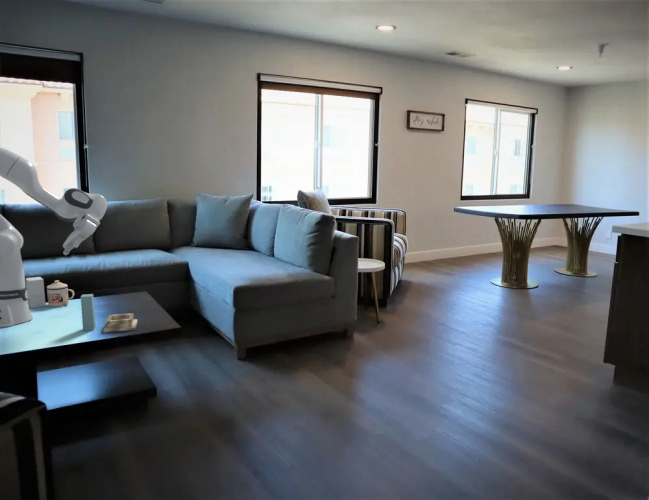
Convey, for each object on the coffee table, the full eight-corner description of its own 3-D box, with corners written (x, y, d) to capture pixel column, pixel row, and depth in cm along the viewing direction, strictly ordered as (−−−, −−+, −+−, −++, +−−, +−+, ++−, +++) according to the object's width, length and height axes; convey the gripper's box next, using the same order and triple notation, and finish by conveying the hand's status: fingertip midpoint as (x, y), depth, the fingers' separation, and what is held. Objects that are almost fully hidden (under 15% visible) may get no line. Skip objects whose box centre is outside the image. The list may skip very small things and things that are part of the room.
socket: (103, 332, 202) (102, 322, 201) (107, 323, 213) (106, 314, 212) (135, 329, 205) (134, 320, 204) (137, 321, 216) (137, 312, 216)
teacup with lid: (44, 307, 238) (42, 282, 236) (52, 302, 247) (50, 278, 245) (71, 306, 239) (69, 282, 238) (78, 301, 248) (76, 278, 247)
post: (83, 330, 203) (80, 296, 201) (84, 328, 207) (82, 294, 205) (93, 330, 204) (91, 296, 202) (95, 327, 208) (93, 294, 206)
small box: (46, 306, 240) (43, 279, 238) (30, 308, 236) (28, 281, 234) (42, 302, 246) (40, 276, 244) (27, 304, 242) (25, 278, 240)
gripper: (68, 229, 224) (52, 254, 216) (88, 212, 212) (73, 238, 204) (81, 237, 228) (66, 262, 219) (102, 221, 215) (87, 246, 207)
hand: (70, 250), depth 211 cm, fingers open, 8 cm apart
